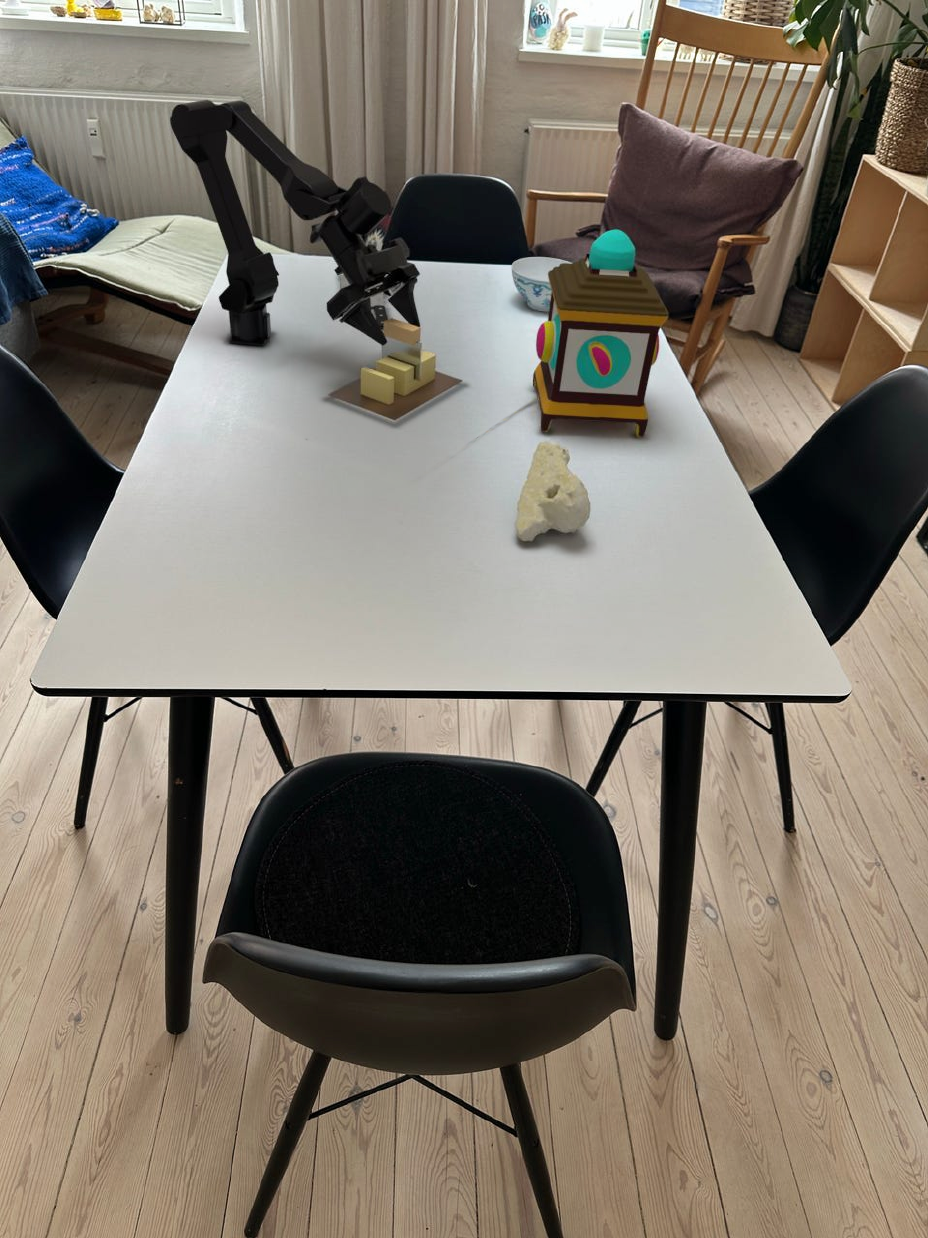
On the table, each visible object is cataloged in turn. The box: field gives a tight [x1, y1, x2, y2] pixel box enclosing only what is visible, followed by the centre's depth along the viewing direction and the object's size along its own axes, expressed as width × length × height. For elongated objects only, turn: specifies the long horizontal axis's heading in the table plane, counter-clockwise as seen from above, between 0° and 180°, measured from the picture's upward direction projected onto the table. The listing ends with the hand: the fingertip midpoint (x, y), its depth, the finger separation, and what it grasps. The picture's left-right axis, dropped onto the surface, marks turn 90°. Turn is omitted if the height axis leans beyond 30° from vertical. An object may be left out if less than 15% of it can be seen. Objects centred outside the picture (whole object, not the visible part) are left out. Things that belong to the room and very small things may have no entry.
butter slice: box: [360, 366, 394, 405], centre depth 152 cm, size 6×1×4 cm, turn 56°
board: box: [327, 369, 464, 421], centre depth 158 cm, size 14×20×1 cm
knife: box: [381, 317, 423, 381], centre depth 154 cm, size 8×2×9 cm, turn 56°
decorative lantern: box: [532, 229, 670, 438], centre depth 148 cm, size 20×20×30 cm
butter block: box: [375, 349, 437, 396], centre depth 158 cm, size 6×9×4 cm, turn 146°
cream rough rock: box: [515, 441, 592, 542], centre depth 128 cm, size 15×7×15 cm
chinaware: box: [511, 256, 573, 313], centre depth 193 cm, size 15×15×8 cm
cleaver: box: [339, 274, 388, 329], centre depth 190 cm, size 29×1×10 cm
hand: (402, 335), depth 153 cm, fingers open, 9 cm apart
